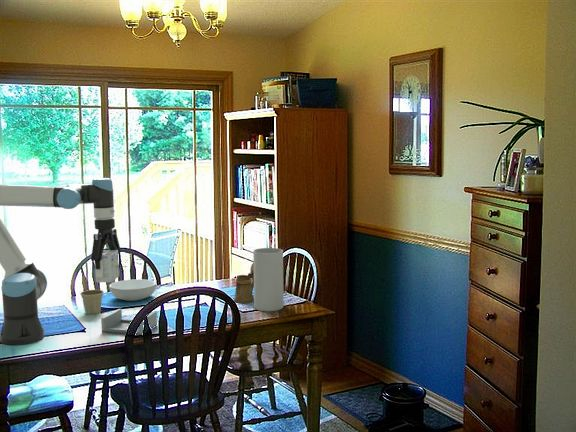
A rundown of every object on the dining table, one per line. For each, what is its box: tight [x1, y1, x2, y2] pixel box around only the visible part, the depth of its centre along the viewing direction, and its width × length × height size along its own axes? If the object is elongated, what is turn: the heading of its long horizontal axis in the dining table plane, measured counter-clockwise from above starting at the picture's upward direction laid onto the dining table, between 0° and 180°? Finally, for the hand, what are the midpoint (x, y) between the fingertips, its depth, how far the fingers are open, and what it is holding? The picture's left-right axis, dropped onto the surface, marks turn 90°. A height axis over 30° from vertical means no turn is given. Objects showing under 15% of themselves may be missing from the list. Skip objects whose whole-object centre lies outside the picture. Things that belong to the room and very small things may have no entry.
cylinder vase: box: [252, 247, 284, 313], centre depth 283 cm, size 12×12×25 cm
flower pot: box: [79, 289, 105, 315], centre depth 279 cm, size 9×9×9 cm
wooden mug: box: [233, 261, 254, 304], centre depth 297 cm, size 9×14×18 cm, turn 125°
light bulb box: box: [94, 249, 120, 283], centre depth 259 cm, size 11×7×11 cm, turn 0°
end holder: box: [100, 308, 158, 336], centre depth 255 cm, size 13×16×6 cm
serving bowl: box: [108, 278, 157, 302], centre depth 302 cm, size 21×21×7 cm
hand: (107, 273), depth 260 cm, fingers closed on light bulb box, 11 cm apart
